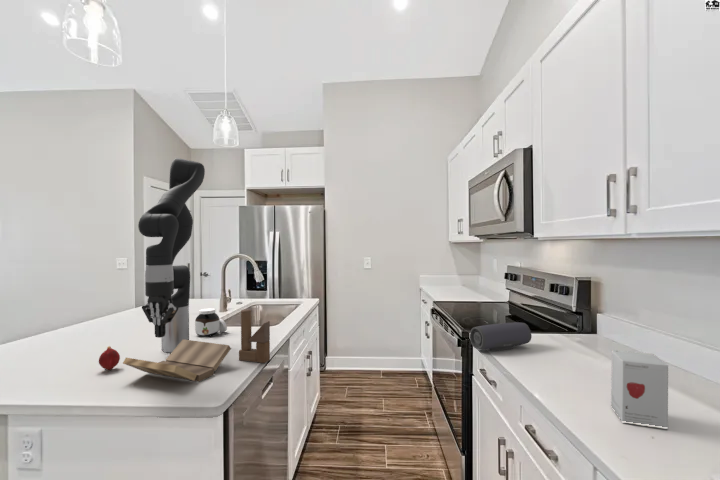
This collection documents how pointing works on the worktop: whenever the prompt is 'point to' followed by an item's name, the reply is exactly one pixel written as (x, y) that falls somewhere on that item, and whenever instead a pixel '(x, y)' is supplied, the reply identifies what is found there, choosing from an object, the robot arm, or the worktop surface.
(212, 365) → the oak plank far
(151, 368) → the oak plank near
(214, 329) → the spread jar
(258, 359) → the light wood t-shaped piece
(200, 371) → the mating board
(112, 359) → the onion
